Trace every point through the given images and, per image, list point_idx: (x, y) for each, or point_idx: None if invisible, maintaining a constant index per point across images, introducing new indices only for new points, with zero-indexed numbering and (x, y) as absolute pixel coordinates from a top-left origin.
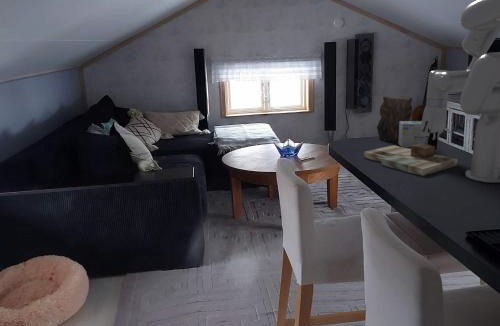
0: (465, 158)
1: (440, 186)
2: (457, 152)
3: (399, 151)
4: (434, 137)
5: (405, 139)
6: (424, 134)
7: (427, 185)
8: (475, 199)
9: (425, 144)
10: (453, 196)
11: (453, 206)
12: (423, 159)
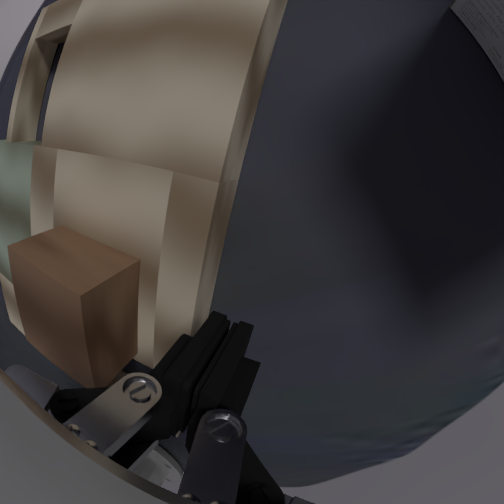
0: (357, 435)
1: (23, 352)
2: (479, 381)
3: (100, 103)
4: (136, 444)
5: (497, 6)
6: (9, 373)
7: (9, 327)
8: None
9: (81, 336)
10: None
11: (5, 362)
12: None
